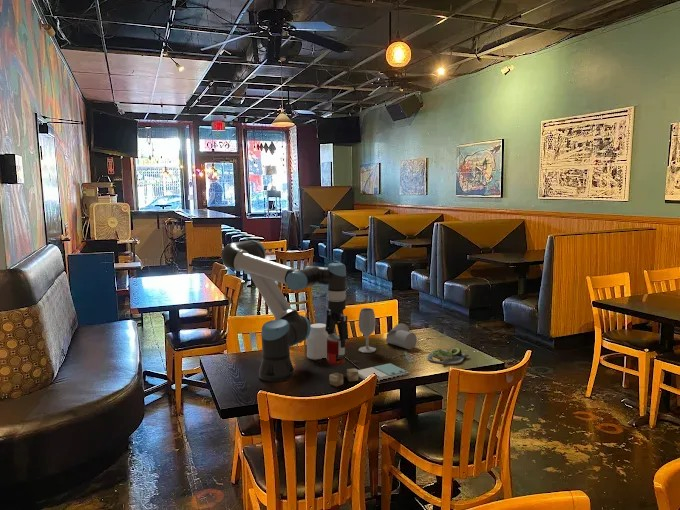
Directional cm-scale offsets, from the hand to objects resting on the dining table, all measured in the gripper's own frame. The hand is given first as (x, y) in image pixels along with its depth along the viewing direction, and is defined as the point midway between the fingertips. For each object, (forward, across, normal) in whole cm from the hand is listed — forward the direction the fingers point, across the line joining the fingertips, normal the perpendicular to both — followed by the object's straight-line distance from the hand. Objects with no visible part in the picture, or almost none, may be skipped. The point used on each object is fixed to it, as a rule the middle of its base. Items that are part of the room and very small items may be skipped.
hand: (336, 351), depth 218 cm
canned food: (+5, 0, 0) cm, 5 cm away
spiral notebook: (+10, -10, -16) cm, 21 cm away
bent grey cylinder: (+10, +21, -51) cm, 57 cm away
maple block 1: (+10, -10, +6) cm, 15 cm away
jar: (+11, +26, -5) cm, 29 cm away
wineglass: (+10, +20, -29) cm, 37 cm away
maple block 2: (+10, -9, -3) cm, 14 cm away
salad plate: (+10, -10, -54) cm, 56 cm away
